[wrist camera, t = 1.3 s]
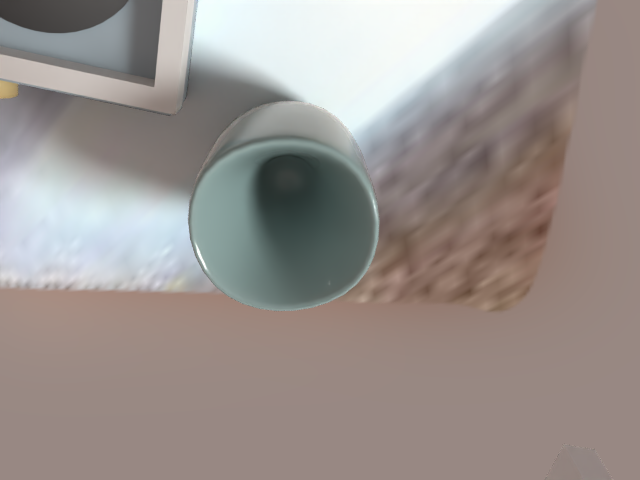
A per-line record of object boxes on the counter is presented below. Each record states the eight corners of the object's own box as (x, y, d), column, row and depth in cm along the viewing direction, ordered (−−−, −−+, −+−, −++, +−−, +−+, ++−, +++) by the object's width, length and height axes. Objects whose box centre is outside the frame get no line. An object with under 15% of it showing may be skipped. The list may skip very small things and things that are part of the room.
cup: (231, 226, 33) (204, 322, 24) (208, 93, 30) (166, 146, 21) (363, 214, 33) (385, 305, 24) (354, 79, 30) (377, 126, 20)
